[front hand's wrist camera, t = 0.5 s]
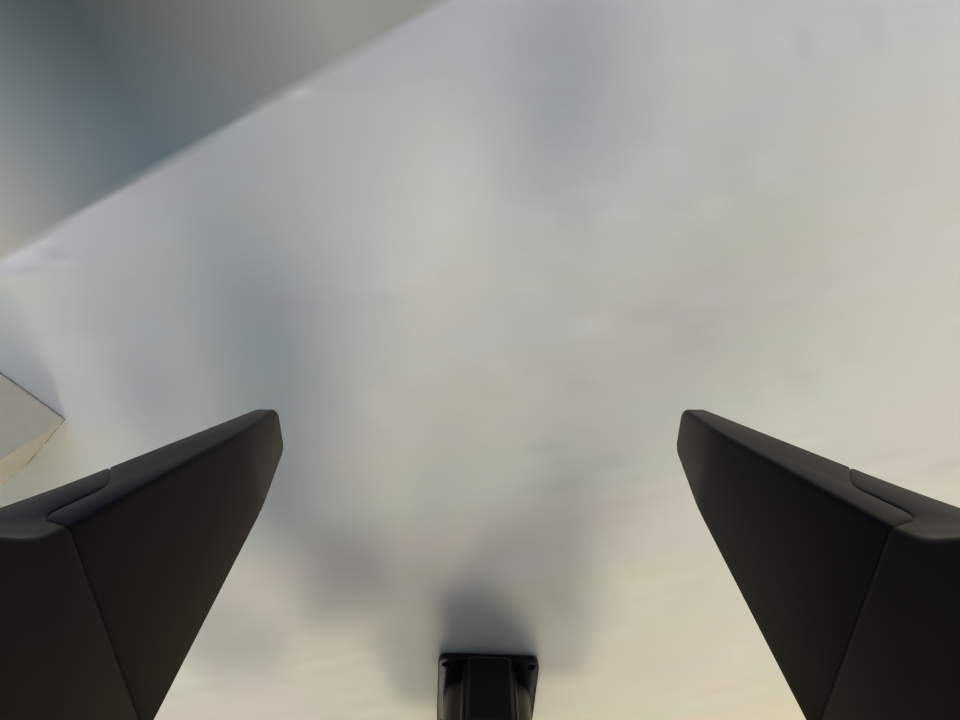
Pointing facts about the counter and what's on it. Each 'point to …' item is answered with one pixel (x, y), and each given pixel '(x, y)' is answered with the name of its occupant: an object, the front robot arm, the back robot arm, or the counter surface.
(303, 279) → the counter surface
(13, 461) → the light grey cube-like block
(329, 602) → the counter surface
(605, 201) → the counter surface
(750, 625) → the counter surface
